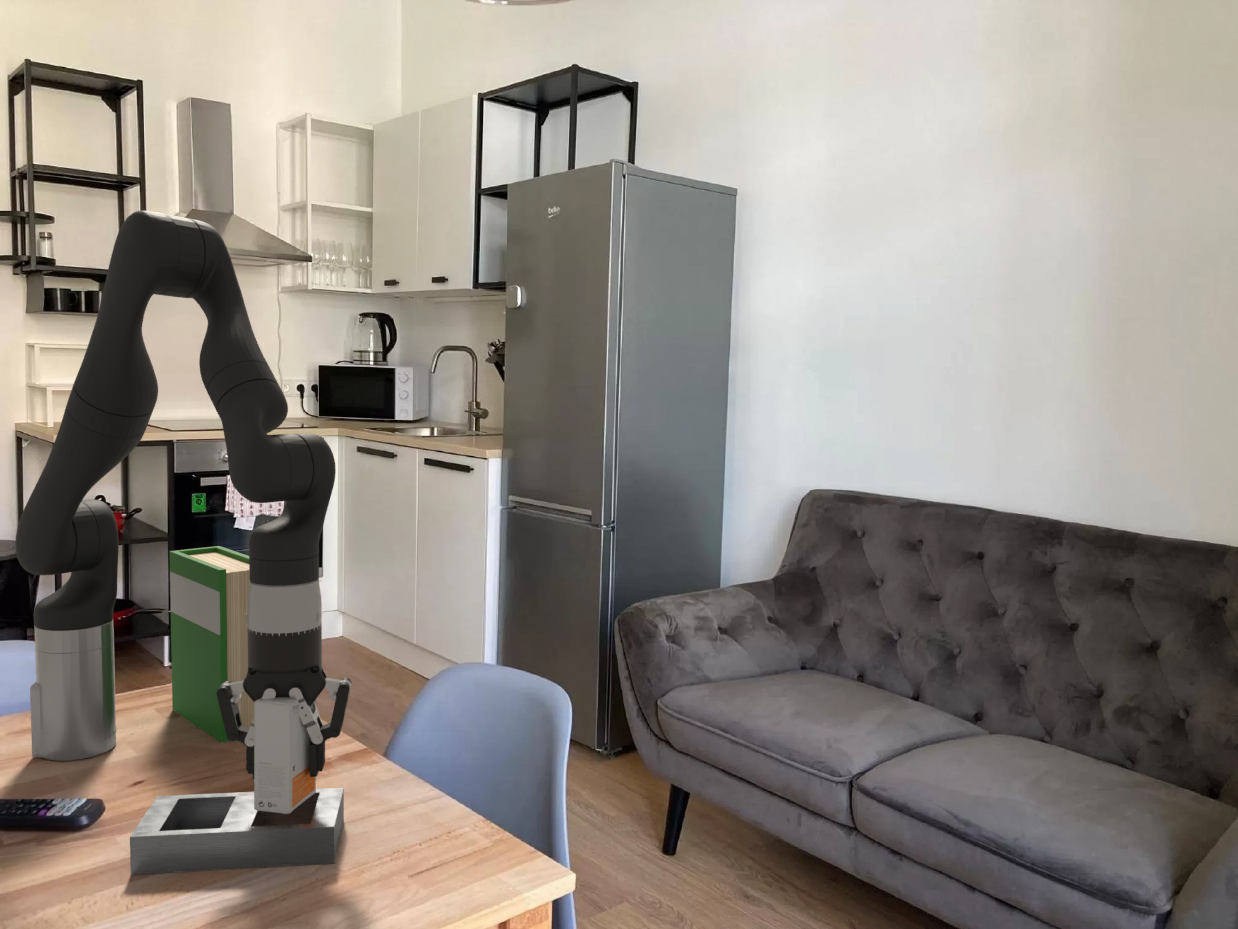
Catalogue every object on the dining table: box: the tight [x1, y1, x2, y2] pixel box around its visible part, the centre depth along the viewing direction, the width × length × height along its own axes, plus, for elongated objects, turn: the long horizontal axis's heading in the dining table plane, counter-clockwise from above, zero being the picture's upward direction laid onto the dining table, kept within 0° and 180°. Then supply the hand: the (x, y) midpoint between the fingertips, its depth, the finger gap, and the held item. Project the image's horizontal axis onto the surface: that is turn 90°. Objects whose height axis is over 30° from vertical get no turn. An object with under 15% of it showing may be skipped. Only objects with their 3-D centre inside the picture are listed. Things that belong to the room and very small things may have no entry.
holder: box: [129, 787, 345, 876], centre depth 111 cm, size 20×10×4 cm, turn 99°
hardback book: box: [169, 545, 254, 744], centre depth 148 cm, size 18×7×24 cm, turn 44°
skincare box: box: [253, 697, 317, 814], centre depth 111 cm, size 6×4×12 cm
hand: (286, 775), depth 111 cm, fingers closed on skincare box, 5 cm apart
